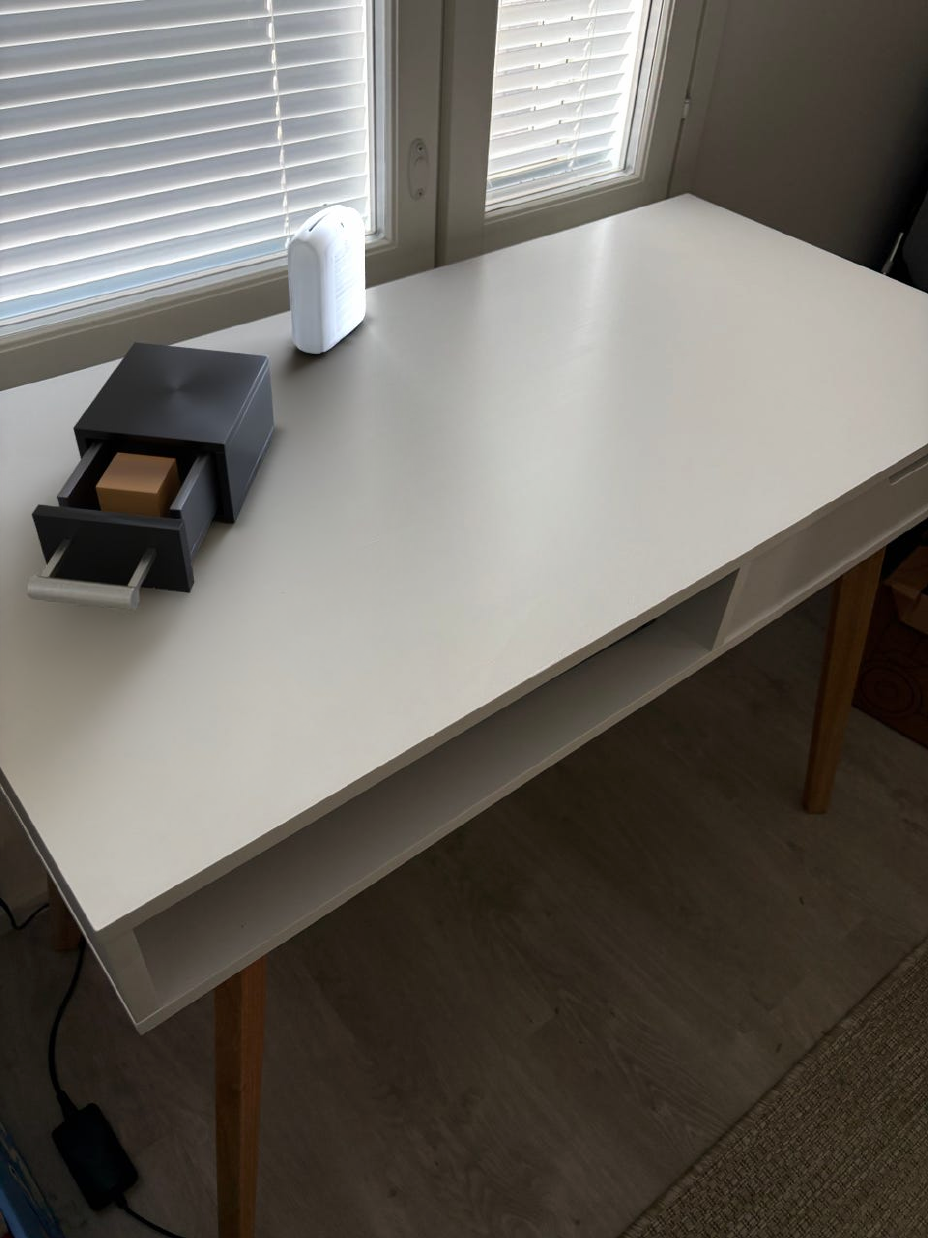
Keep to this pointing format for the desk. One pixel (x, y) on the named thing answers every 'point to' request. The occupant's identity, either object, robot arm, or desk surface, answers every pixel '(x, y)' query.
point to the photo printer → (326, 278)
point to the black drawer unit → (189, 410)
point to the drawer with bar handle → (123, 533)
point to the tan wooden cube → (139, 485)
